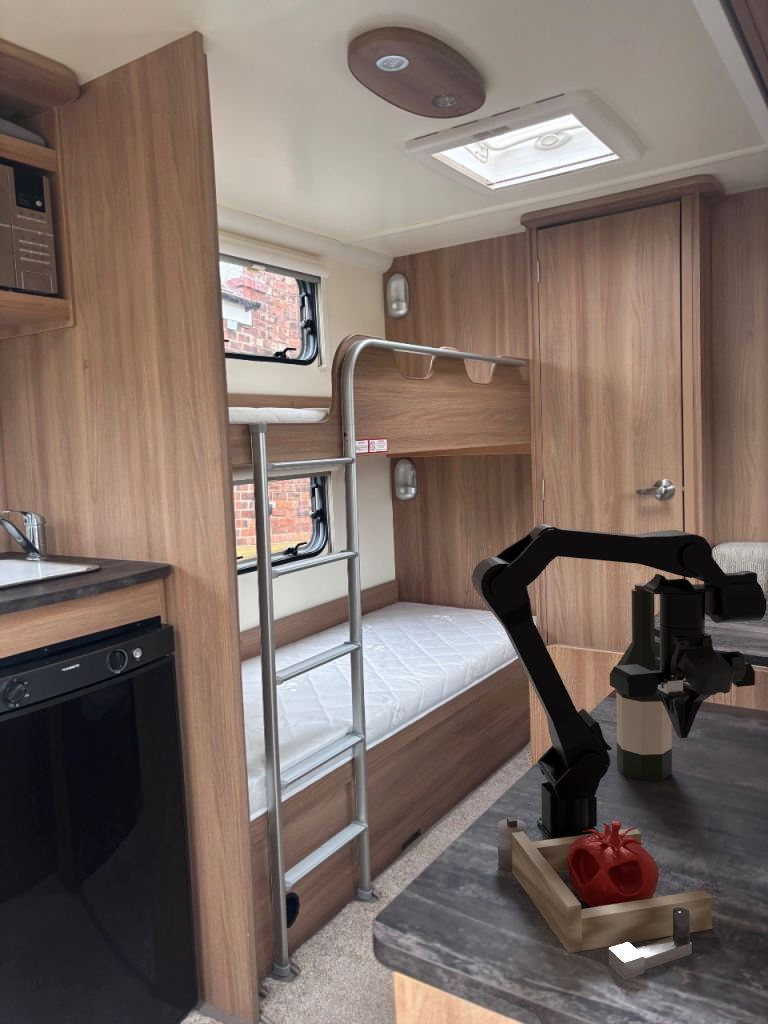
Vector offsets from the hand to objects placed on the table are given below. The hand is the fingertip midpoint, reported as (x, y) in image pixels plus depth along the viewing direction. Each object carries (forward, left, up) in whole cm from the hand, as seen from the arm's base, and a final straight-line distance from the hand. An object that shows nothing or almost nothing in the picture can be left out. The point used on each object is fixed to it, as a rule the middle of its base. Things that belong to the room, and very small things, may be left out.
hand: (682, 737), depth 106 cm
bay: (-19, -12, -12) cm, 26 cm away
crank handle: (-19, -25, -12) cm, 34 cm away
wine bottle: (+4, +17, -12) cm, 21 cm away
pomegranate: (-18, -14, -12) cm, 26 cm away
